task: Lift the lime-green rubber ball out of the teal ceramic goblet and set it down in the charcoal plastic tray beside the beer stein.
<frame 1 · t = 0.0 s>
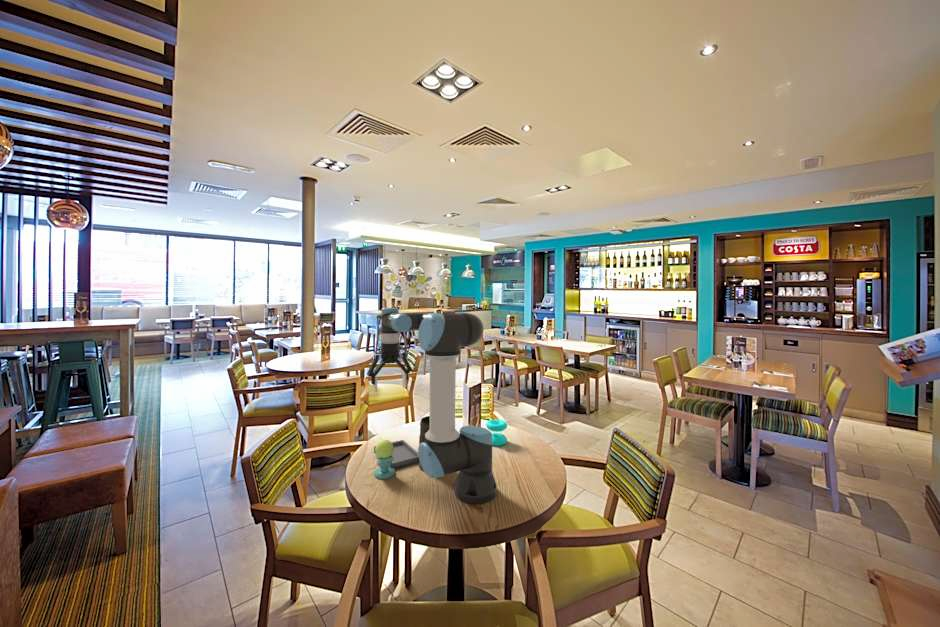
hand: (390, 389, 164), 28 cm above the table, fingers open, 13 cm apart
goblet: (384, 473, 144), on the table
ball: (384, 449, 144), point 10 cm above the table, touching goblet
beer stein: (436, 467, 150), on the table
donuts: (496, 442, 176), on the table
tray: (397, 456, 160), on the table
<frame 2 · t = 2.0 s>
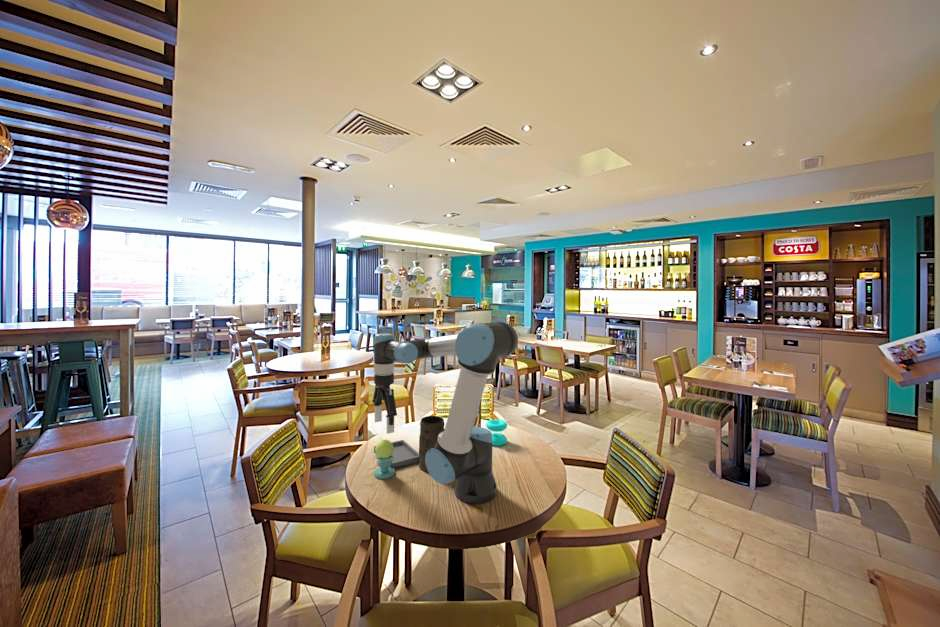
hand: (384, 427, 143), 19 cm above the table, fingers open, 13 cm apart
nothing on the table moved.
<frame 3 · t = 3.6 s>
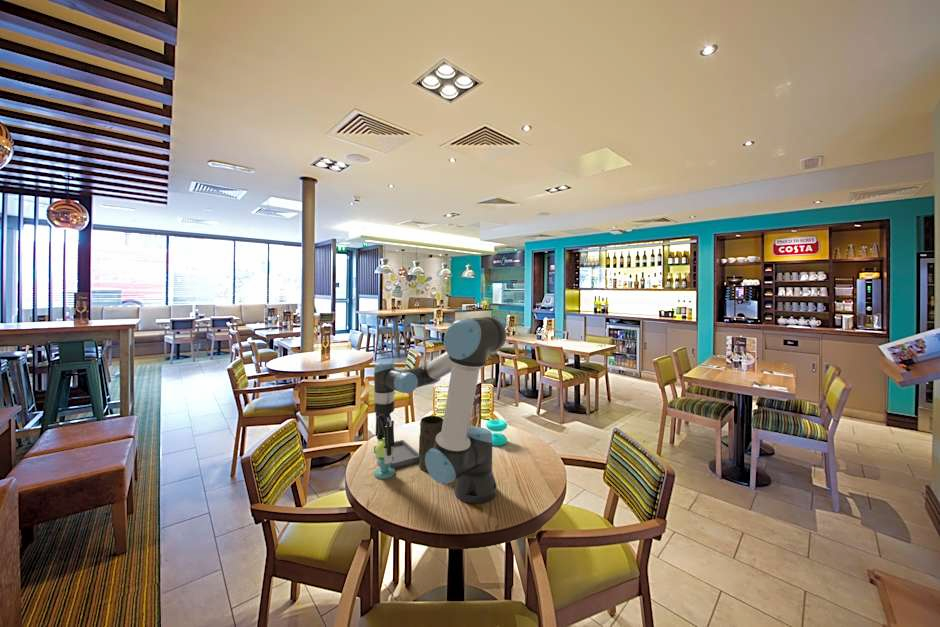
hand: (384, 458, 144), 6 cm above the table, fingers closed on ball, 7 cm apart
ball: (384, 449, 144), point 10 cm above the table, touching goblet, gripper
everything else where it was.
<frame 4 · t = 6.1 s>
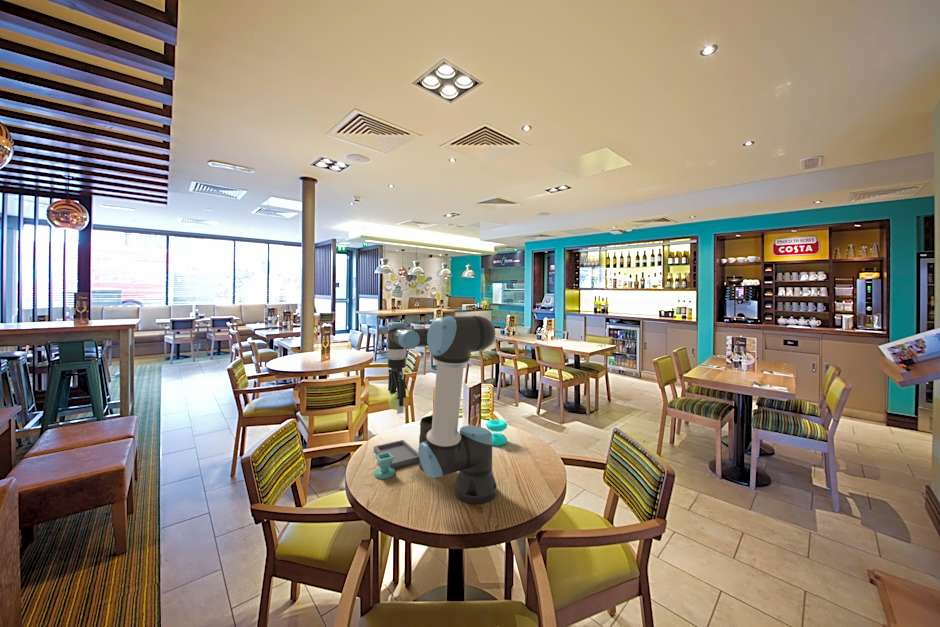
hand: (396, 410, 159), 20 cm above the table, fingers closed on ball, 7 cm apart
ball: (396, 401, 158), point 24 cm above the table, touching gripper
everything else where it was.
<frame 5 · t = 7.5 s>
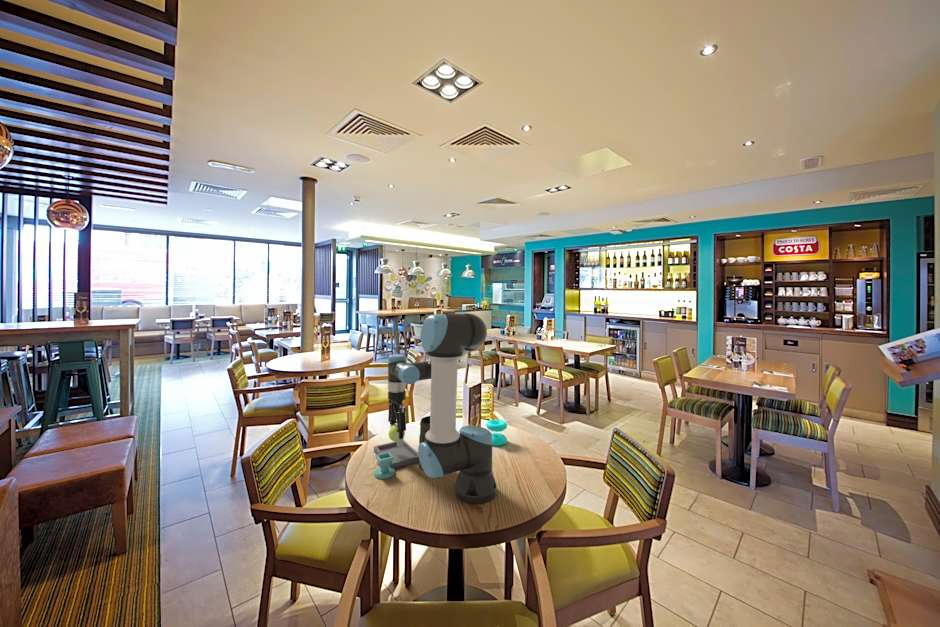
hand: (396, 442, 160), 6 cm above the table, fingers closed on ball, 7 cm apart
ball: (396, 433, 159), point 10 cm above the table, touching gripper
everything else where it was.
when the fingers open (2 cm above the table, at t = 8.4 s): ball drops 2 cm, resting on tray.
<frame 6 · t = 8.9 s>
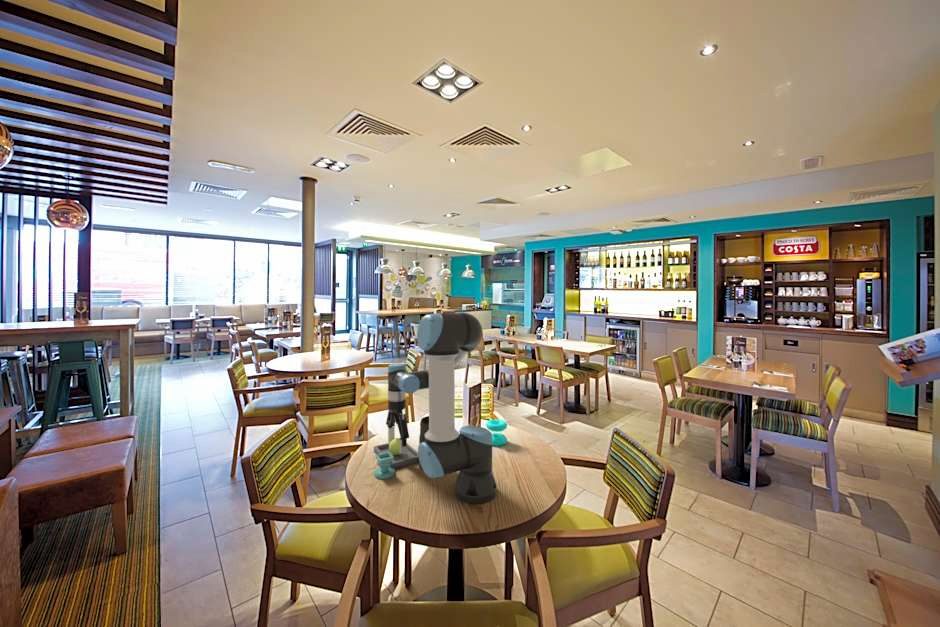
hand: (397, 447, 160), 4 cm above the table, fingers open, 13 cm apart
ball: (397, 446, 159), point 4 cm above the table, touching tray
everything else where it was.
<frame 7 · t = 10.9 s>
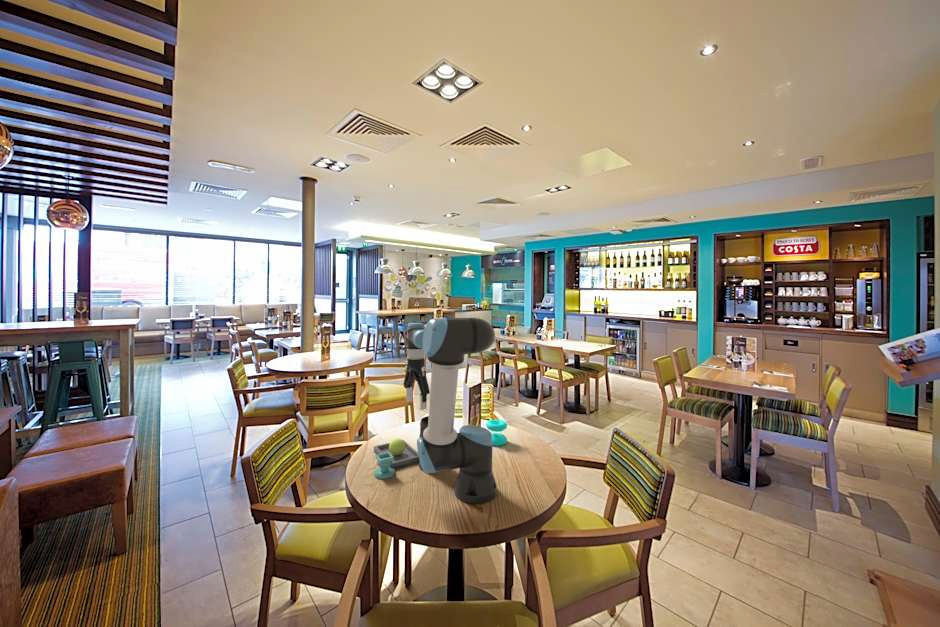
hand: (416, 405, 162), 21 cm above the table, fingers open, 13 cm apart
nothing on the table moved.
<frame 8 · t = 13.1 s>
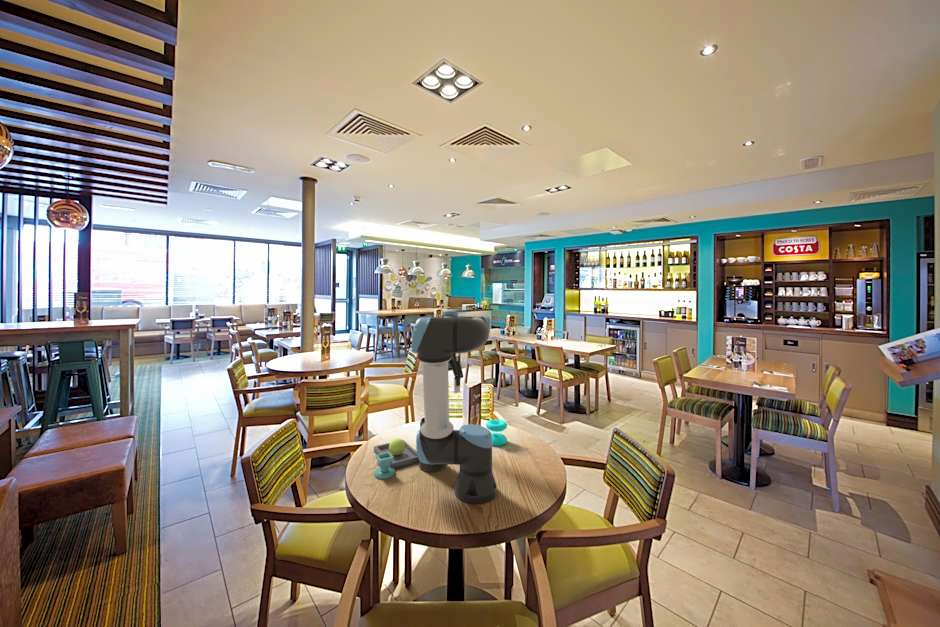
hand: (449, 389, 170), 27 cm above the table, fingers open, 13 cm apart
nothing on the table moved.
at the end: ball inside the target area on the tray (0.1 cm from its centre), point 4.3 cm above the tray's base; the gripper is holding nothing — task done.
